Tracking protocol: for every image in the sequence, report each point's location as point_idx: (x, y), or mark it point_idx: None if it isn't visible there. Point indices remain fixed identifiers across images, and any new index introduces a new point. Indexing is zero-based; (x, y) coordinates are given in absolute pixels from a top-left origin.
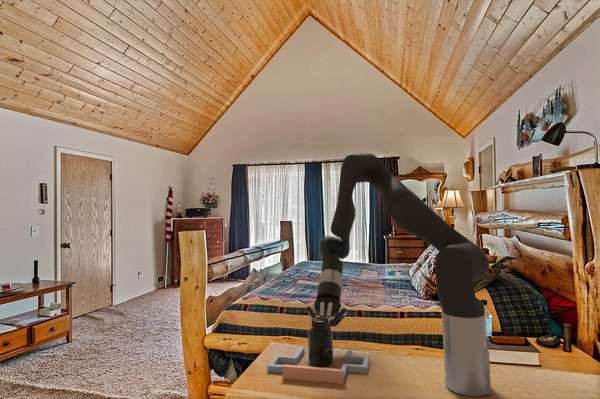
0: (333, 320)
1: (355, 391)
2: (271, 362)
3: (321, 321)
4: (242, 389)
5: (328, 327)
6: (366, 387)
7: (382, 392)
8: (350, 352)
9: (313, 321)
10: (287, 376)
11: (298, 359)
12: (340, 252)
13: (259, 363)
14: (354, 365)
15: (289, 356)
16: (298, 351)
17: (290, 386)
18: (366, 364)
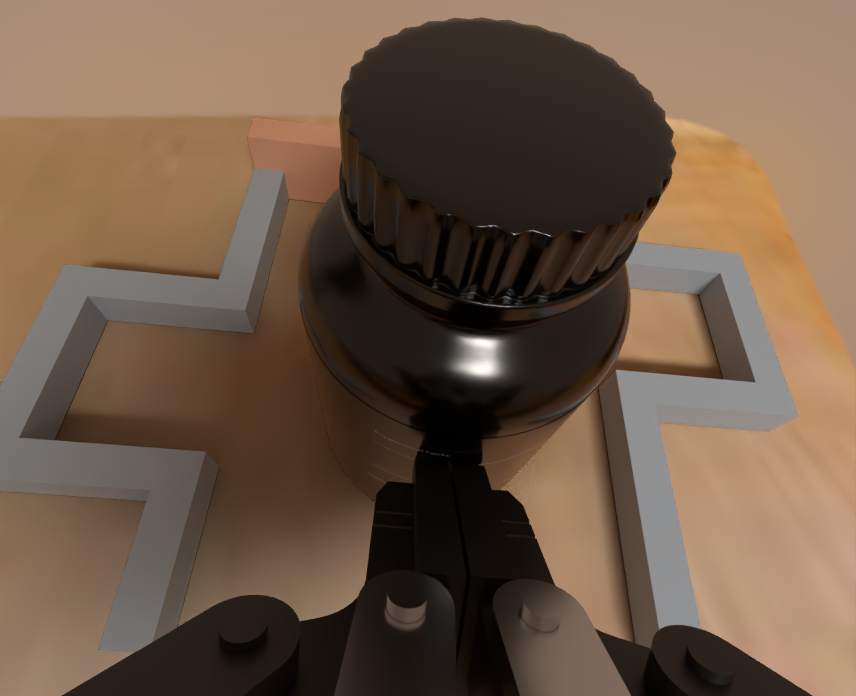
0: (239, 631)
1: (211, 128)
2: (746, 295)
3: (454, 19)
4: (715, 135)
5: (375, 567)
6: (143, 156)
7: (71, 123)
8: (132, 555)
9: (591, 58)
10: None
11: (610, 428)
12: None
13: (839, 373)
14: (156, 285)
15: (685, 396)
16: (665, 513)
17: None
18: (49, 308)
